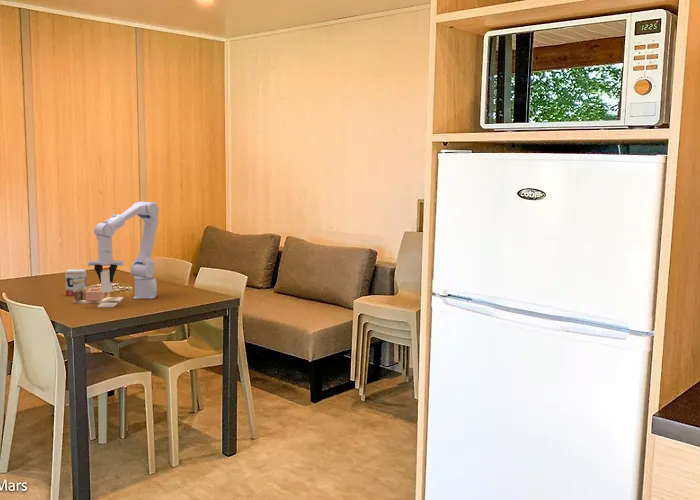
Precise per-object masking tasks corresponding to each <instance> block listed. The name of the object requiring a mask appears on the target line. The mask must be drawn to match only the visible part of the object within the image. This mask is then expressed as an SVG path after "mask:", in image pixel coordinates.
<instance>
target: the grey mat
mask: <svg viewBox="0 0 700 500" xmlns="http://www.w3.org/2000/svg"><path fill="white" fill-rule="evenodd" d="M118 304H119V303H98V305H97V306H96V308H115V307H116V305H118Z"/></svg>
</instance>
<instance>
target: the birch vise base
mask: <svg viewBox="0 0 700 500" xmlns="http://www.w3.org/2000/svg"><path fill="white" fill-rule="evenodd" d="M86 291H88V287H87V288H82V289H78V290H77V291H75V292H74V295H75V296H74V300H72V301H71V302H72V304H75V305H76V304H77V305H78V304H101V303H118V304H120V303H121V302H123V301H124V298H125V297H124V296H115V297H114V296H113V297H111V296H109V297H107V296H106V297H104V298H103V299H101V300H100V301H86Z"/></svg>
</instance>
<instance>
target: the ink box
mask: <svg viewBox="0 0 700 500" xmlns="http://www.w3.org/2000/svg"><path fill="white" fill-rule="evenodd" d="M64 274H65V276H64V277H65V296H66V297H75V295H74V292H75V291H77V290H78V289H82V288H87V289H88V287H87V285H88V283H87V269H85V268H83V269H82V268H80V269H79V268H75V269H74V268H72V269H70V268H69V269H66V270H65V271H64Z"/></svg>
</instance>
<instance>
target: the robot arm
mask: <svg viewBox="0 0 700 500" xmlns="http://www.w3.org/2000/svg"><path fill="white" fill-rule="evenodd" d="M159 212H160V208H159V206H158V204H157V203H156V202H154V201H140V200H139V201H136V202H134V203H133V204H132V205H131V206H130V207H128V209H126V210H125V211H124V212H122V213H121V214H117V213H116V214H112V216H111V217H109V218H108V219H105V220H104V222H99V223H97V224H96V226H94V227H95V228H94V230H93V232H94V235H96V240H97V255H98V257H97V258H98V260H88V261H87V267H92V266H93V270H94V271H95V272H96V274H97V276H98V277H97V278H98V279H99V283H100V284H101V271H103V266H106V267H107V266H108V270H109V271H110V283H112V284H113V283H114V276H115V273H116V271H117V269H118V266H120V267H122V266H124V265H125V263H124V262H125V261H124V260H116V259H115V260H113V236H114V235H115V232H117V230H118V229H121V228H122V227H123V226H125V224H126V221H128V220H130V219H132V218H133V217H135V216H138V217H139V218H140V219H141V220H142V221H143V222H144V226H143V232H142V237H141V242H140V249H139V252H138V256H137V257H136V258H135V259H134V260H133V263H132V265H131V267H130V274H131V275H132V277H133V279H134V296H133V297H132V299H133V300H134V299H136V300H137V299H140V300H141V299H155V298H156V297H157V296H158V294H157V293H158V291H157V290H158V289H157V286H158V285H157V279H156V278H155V277H154V275H155V270H156V269H155V261H154V260H153V259H152V254H153V249H154V244H155V239H156V234H157V228H158V223H159V217H158V216H159Z"/></svg>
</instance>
